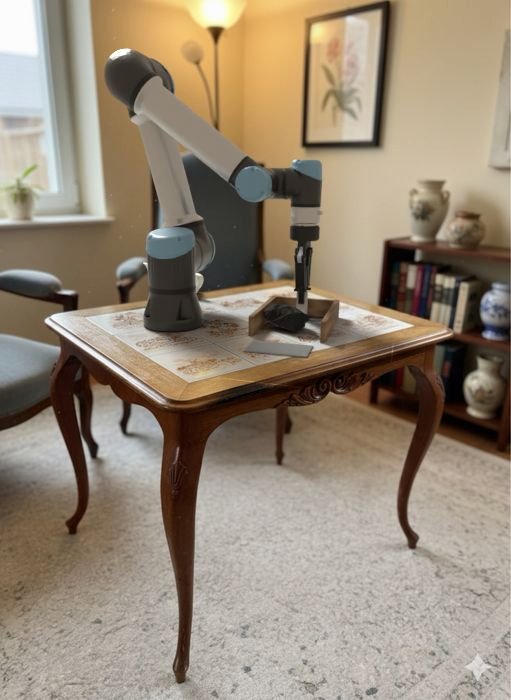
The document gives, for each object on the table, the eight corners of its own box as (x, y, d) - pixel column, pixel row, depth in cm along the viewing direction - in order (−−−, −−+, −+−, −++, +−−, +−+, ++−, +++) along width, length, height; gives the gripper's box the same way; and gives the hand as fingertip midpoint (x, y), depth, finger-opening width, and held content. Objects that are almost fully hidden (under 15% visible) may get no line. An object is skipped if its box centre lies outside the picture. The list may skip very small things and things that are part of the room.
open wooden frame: (248, 336, 128) (248, 316, 127) (272, 313, 150) (273, 295, 149) (325, 343, 123) (326, 322, 122) (338, 318, 145) (339, 300, 144)
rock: (299, 315, 125) (292, 284, 130) (264, 338, 130) (259, 307, 136) (319, 329, 130) (311, 298, 135) (285, 350, 135) (279, 319, 141)
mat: (243, 351, 117) (243, 350, 117) (253, 341, 124) (253, 340, 124) (306, 357, 113) (306, 356, 113) (313, 346, 121) (313, 345, 121)
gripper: (315, 227, 128) (311, 322, 136) (323, 222, 140) (319, 310, 148) (284, 226, 130) (282, 320, 138) (295, 221, 142) (292, 308, 150)
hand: (301, 315), depth 143 cm, fingers closed
